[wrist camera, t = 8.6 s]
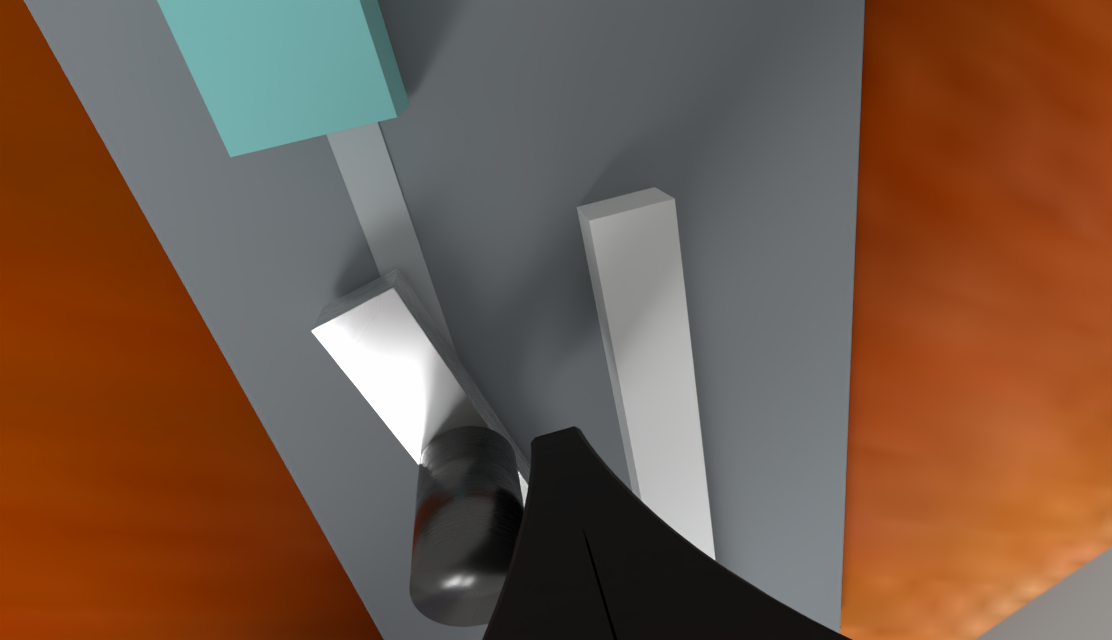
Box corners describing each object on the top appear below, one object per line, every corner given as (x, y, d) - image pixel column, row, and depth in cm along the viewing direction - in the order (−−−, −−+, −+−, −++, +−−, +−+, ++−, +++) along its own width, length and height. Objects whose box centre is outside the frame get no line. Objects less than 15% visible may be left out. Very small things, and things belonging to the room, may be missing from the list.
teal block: (409, 105, 10) (397, 117, 8) (284, 135, 10) (229, 157, 8) (351, -84, 9) (314, -142, 7) (205, -53, 9) (109, -101, 6)
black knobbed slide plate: (641, 621, 18) (696, 779, 14) (581, 651, 18) (618, 816, 14) (406, 262, 12) (384, 363, 8) (315, 310, 12) (247, 435, 8)
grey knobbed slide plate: (829, 621, 21) (872, 683, 19) (451, 742, 20) (452, 822, 18) (851, -230, 10) (960, -311, 8) (15, -55, 9) (-119, -93, 7)
